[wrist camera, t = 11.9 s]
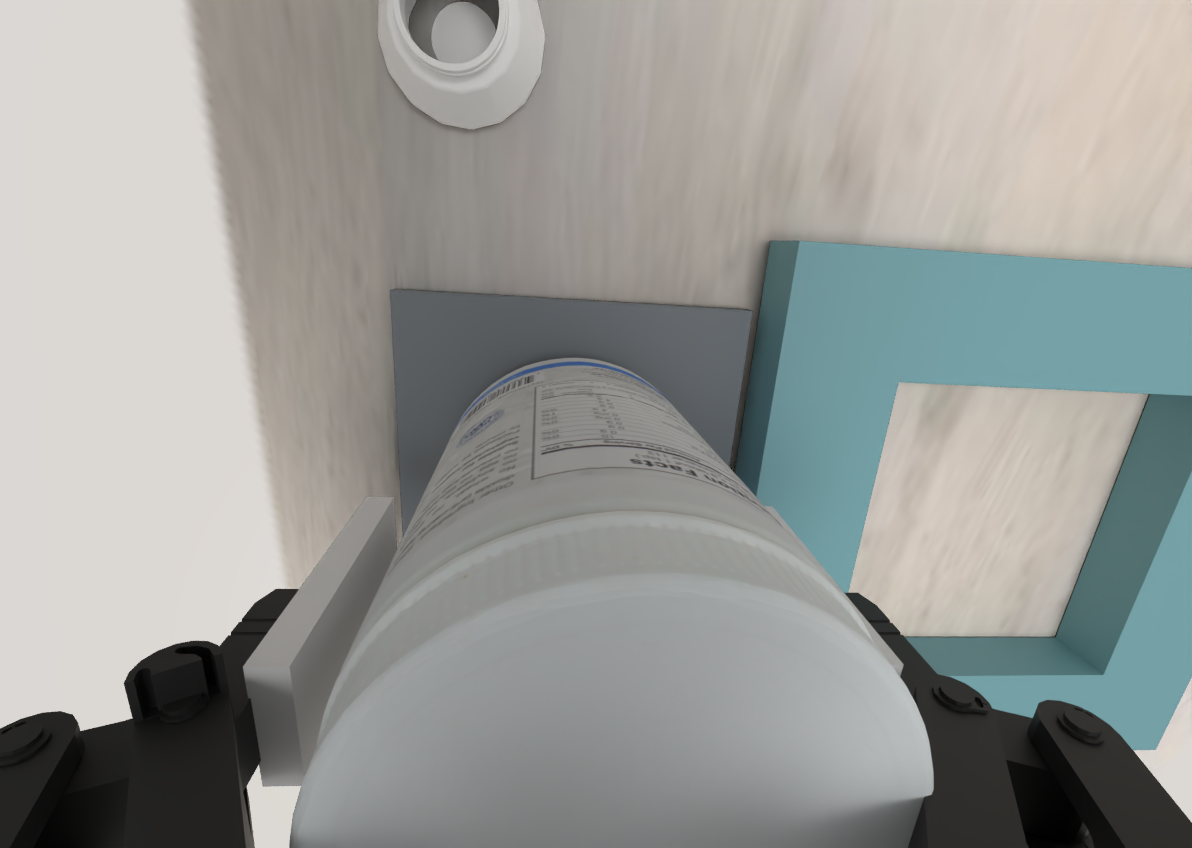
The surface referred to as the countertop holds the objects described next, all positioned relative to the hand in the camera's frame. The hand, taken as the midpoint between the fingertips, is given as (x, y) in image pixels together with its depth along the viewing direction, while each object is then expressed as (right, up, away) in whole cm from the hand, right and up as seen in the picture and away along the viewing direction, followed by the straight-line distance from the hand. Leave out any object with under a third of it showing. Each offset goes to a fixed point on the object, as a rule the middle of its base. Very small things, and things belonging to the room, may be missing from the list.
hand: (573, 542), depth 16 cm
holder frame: (+17, -1, +8) cm, 19 cm away
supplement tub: (0, +2, +5) cm, 6 cm away
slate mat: (0, +2, +6) cm, 6 cm away
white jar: (-4, +16, +2) cm, 16 cm away
